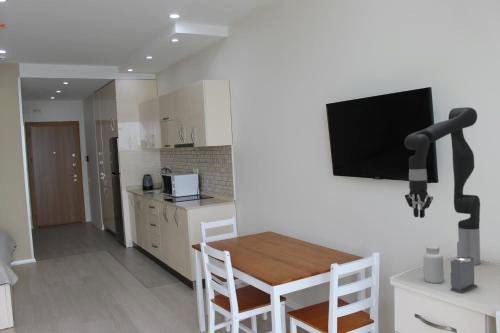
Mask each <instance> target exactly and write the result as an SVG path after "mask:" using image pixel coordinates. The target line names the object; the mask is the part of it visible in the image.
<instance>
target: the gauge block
mask: <svg viewBox="0 0 500 333" xmlns="http://www.w3.org/2000/svg"><path fill="white" fill-rule="evenodd" d="M453 258H454V260H450V273H449V274H450V275H449V276H450V285H451V286H450V291H452V292H455V293H460V294H462V295H463V294H465V293H467V292H469V291H472V290H474V289H476V288H478V284H475V265H474V258H472V257H467V256H457V255H455V256H453Z"/></svg>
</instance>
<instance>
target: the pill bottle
mask: <svg viewBox="0 0 500 333" xmlns="http://www.w3.org/2000/svg"><path fill="white" fill-rule="evenodd" d="M425 250H426V252H424V254H423V255H422V256H423V277H424V281H425V282H427V283H432V284H439V283H440V284H441V283H443V282H444V279H445V277H444V276H445V274H444V273H445V271H444V270H445V268H444V255H443V254H442V252H440V246H438V245H427V246H425Z"/></svg>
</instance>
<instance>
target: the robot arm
mask: <svg viewBox="0 0 500 333" xmlns="http://www.w3.org/2000/svg"><path fill="white" fill-rule="evenodd" d="M477 120H478V113H477V110H476V109H474V108H473V107H469V106H468V107H455V108H454V107H453V108H452V109H451V110H450V111H449V113H448V119H447V120H443V121H439V122H436V123H434V124H432V125H430V126H428V127H426V128H424V129H422V130H419V131H416V132H412V133H410V134H408V135H407V136H406V137H405V139H404V146H405V147H406V149H407V150H411V151H415V154H414V155H411V156H409V157H408V158H409V159H408V165H409V166H408V167H409V168H408V169H409V170H408V184H409V185H408V186H409V187H408V188H409V192H408V193H407V194H405V195H404V198H405V200H406V202H407V204H408V206H409V208H412V210H413V212H412V213H413V216H414V217H415V218H420V219H423V218H424V217H426V212H425V210H426V209H428V208H429V207H430V205H432V204H431V203H432V202H433V200H434V196H430V194H429V193H428V173H427V156H428V152H429V149H430V144H433V143H435V142H436V141H438V140H440V139H442V138H444V137H445V136H448V135H450V139H451V150H452V168H453V169H452V170H453V206H454V211H455V213H457V214H464V215H465V214H466V215H467V214H468V215H470V216H469V218H465V219H462V220H459V221H457V222H458V223H457V228H458V229H457V230H458V231H457V233H458V235H457V237H458V241H457V243H456V256H467V257H472V258H474V266H477V265H480V264H481V243H480V242H481V238H480V224H481V223H480V220H481V219H480V215H481V213H480V212H481V200H480V197H479V195H476V194H464V187H465V184H466V183H467V181H468V180H469V178H470V177H471V175H472V173H473V171H474V169H475V156H474V151H473V149H472V148H471V146H470V145H469V143H468V142H467V141H466V139H465V138H466V137H465V135H464V130H463V129H466V128H469V127H473V126H474V125H475V124H476V122H477Z"/></svg>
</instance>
